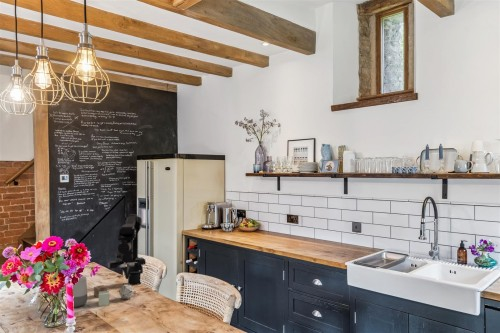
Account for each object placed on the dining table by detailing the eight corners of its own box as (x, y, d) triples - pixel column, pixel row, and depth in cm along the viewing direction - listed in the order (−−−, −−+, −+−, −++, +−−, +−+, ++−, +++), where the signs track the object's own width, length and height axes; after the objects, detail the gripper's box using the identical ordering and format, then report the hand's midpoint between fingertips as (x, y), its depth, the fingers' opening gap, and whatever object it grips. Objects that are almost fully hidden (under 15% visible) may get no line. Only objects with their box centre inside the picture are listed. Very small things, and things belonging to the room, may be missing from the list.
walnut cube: (102, 293, 214) (102, 284, 214) (107, 296, 211) (107, 286, 211) (94, 295, 211) (94, 286, 211) (98, 298, 207) (98, 288, 207)
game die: (129, 304, 208) (141, 288, 211) (123, 304, 200) (135, 287, 203) (117, 295, 211) (129, 279, 213) (111, 294, 203) (123, 278, 205)
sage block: (108, 302, 202) (109, 290, 202) (109, 305, 197) (109, 293, 197) (98, 303, 200) (98, 291, 200) (98, 306, 195) (98, 294, 195)
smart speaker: (63, 308, 192) (63, 280, 192) (71, 302, 201) (72, 275, 201) (82, 308, 192) (83, 280, 192) (90, 302, 201) (90, 275, 201)
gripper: (140, 245, 218) (139, 272, 218) (105, 248, 208) (105, 277, 208) (146, 249, 209) (145, 277, 209) (110, 252, 199) (109, 282, 199)
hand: (126, 278), depth 206 cm, fingers closed
